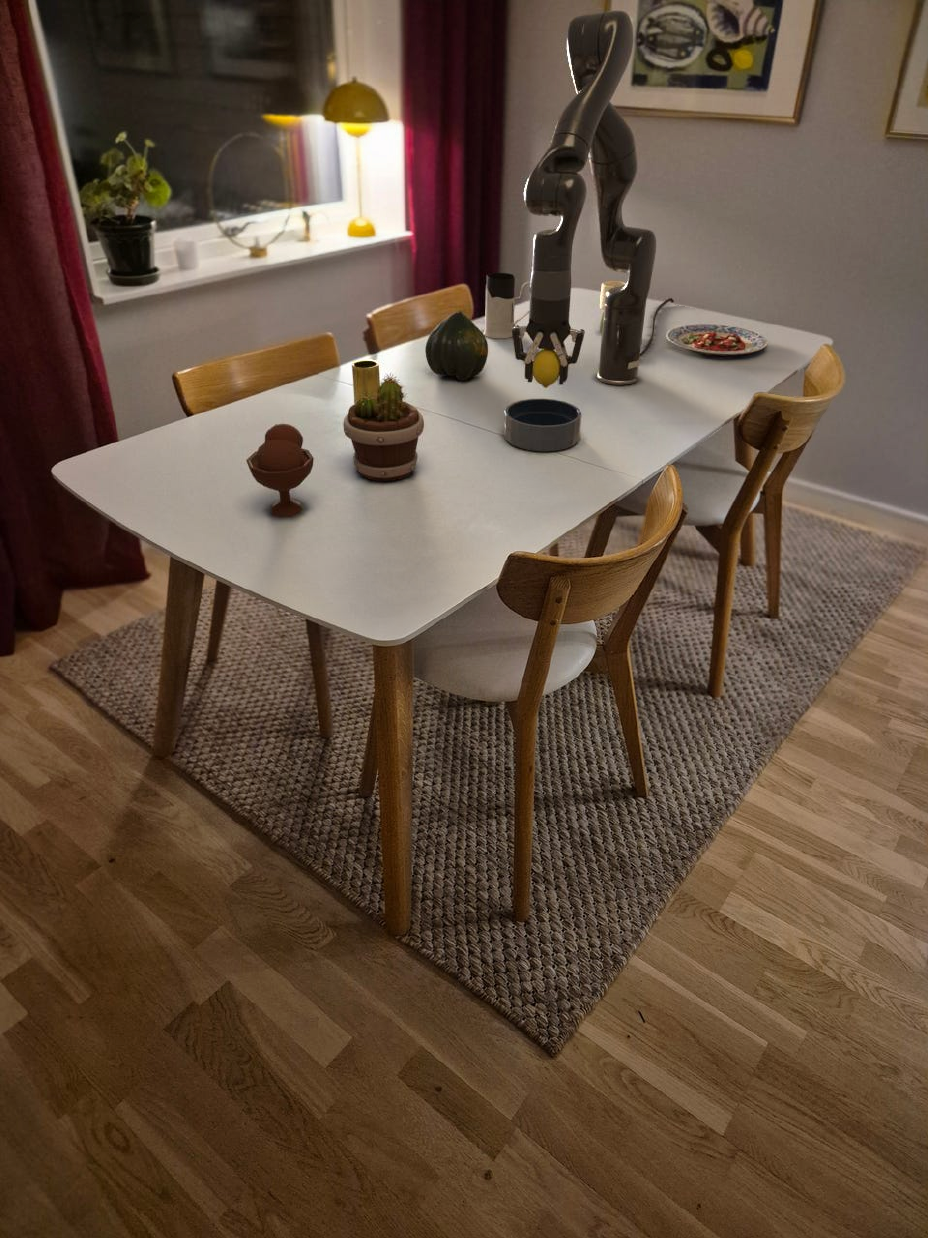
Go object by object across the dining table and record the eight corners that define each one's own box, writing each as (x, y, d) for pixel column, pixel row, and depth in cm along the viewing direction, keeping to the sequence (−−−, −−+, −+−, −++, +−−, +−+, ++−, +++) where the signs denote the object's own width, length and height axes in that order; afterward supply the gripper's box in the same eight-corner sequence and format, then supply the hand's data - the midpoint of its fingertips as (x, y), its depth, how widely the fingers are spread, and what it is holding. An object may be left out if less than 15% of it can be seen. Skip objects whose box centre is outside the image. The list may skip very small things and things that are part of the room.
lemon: (558, 393, 163) (560, 352, 158) (529, 391, 164) (531, 350, 159) (561, 383, 167) (563, 343, 163) (533, 381, 168) (535, 341, 163)
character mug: (613, 340, 226) (618, 290, 218) (589, 336, 229) (594, 286, 222) (630, 330, 233) (636, 281, 226) (607, 326, 236) (612, 278, 229)
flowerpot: (336, 462, 161) (326, 358, 150) (411, 450, 166) (407, 348, 155) (358, 493, 150) (350, 384, 139) (438, 479, 155) (436, 372, 144)
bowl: (511, 420, 179) (512, 395, 176) (583, 427, 176) (585, 401, 173) (497, 449, 167) (498, 422, 164) (573, 456, 164) (576, 429, 161)
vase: (389, 428, 175) (385, 360, 167) (377, 439, 170) (372, 370, 162) (362, 425, 177) (357, 357, 169) (349, 435, 172) (344, 366, 164)
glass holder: (485, 328, 235) (486, 271, 226) (536, 330, 233) (539, 273, 225) (481, 337, 228) (482, 279, 219) (533, 339, 226) (536, 281, 218)
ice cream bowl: (257, 496, 149) (245, 415, 141) (320, 494, 150) (312, 414, 142) (250, 525, 141) (236, 441, 132) (317, 522, 141) (308, 439, 133)
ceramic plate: (777, 341, 225) (780, 330, 223) (748, 368, 207) (751, 356, 205) (685, 326, 236) (687, 315, 235) (650, 350, 219) (652, 339, 217)
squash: (445, 368, 190) (477, 309, 189) (404, 355, 199) (435, 299, 199) (480, 398, 201) (511, 342, 200) (440, 384, 210) (469, 331, 210)
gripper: (591, 289, 157) (584, 378, 166) (515, 285, 159) (513, 373, 169) (586, 300, 151) (579, 391, 161) (508, 295, 153) (506, 386, 163)
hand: (545, 381), depth 165 cm, fingers closed on lemon, 5 cm apart
